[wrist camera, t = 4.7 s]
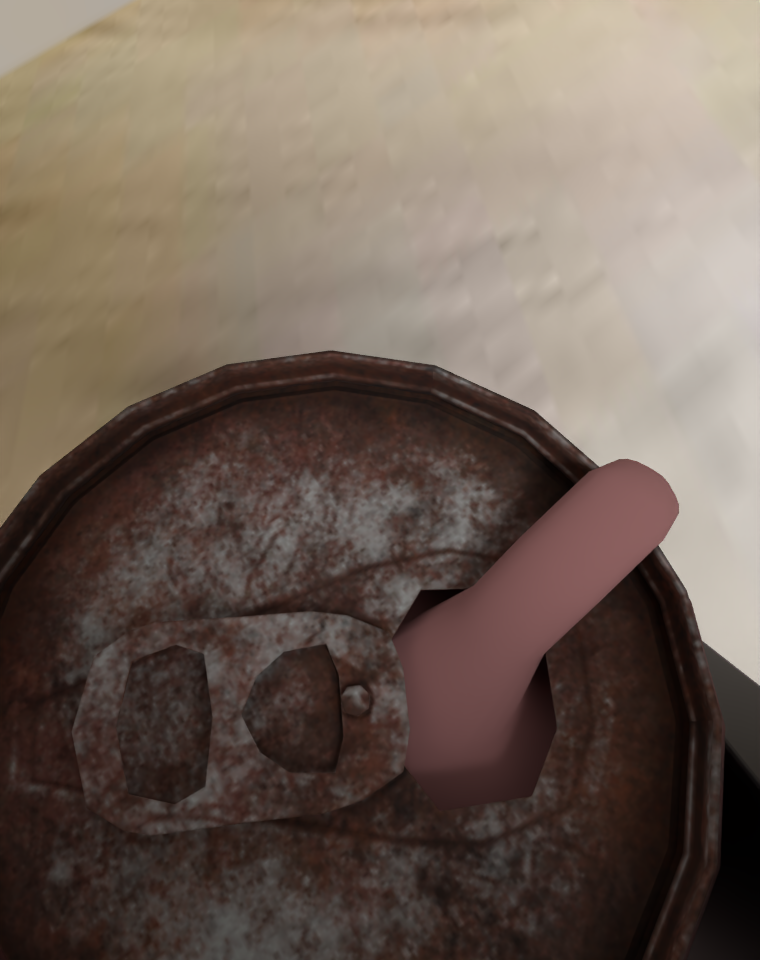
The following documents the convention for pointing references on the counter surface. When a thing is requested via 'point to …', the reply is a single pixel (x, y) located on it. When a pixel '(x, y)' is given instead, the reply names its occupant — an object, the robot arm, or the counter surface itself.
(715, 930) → the robot arm
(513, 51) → the counter surface
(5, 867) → the can
